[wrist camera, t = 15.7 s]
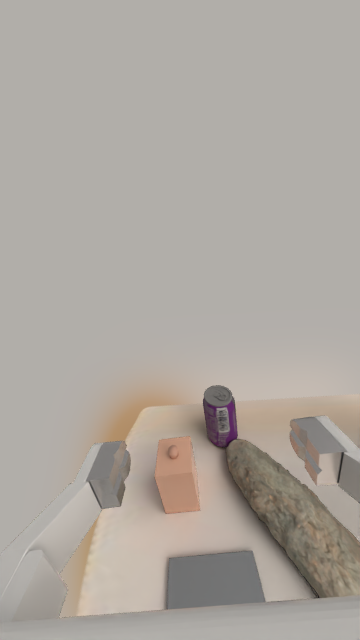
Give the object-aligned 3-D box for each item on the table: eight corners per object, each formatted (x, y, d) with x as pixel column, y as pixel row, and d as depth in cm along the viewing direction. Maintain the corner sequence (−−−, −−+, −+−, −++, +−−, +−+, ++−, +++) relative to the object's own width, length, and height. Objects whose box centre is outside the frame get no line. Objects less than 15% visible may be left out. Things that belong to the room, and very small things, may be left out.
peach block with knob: (196, 470, 35) (189, 431, 32) (199, 510, 29) (191, 467, 26) (168, 473, 35) (157, 435, 32) (165, 513, 30) (153, 471, 27)
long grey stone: (813, 1368, 6) (701, 911, 10) (1028, 1567, 5) (792, 927, 9) (212, 461, 36) (246, 437, 40) (211, 444, 34) (247, 420, 39)
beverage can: (242, 431, 42) (240, 391, 38) (228, 456, 37) (224, 412, 33) (217, 417, 46) (212, 380, 43) (202, 438, 42) (195, 398, 38)
